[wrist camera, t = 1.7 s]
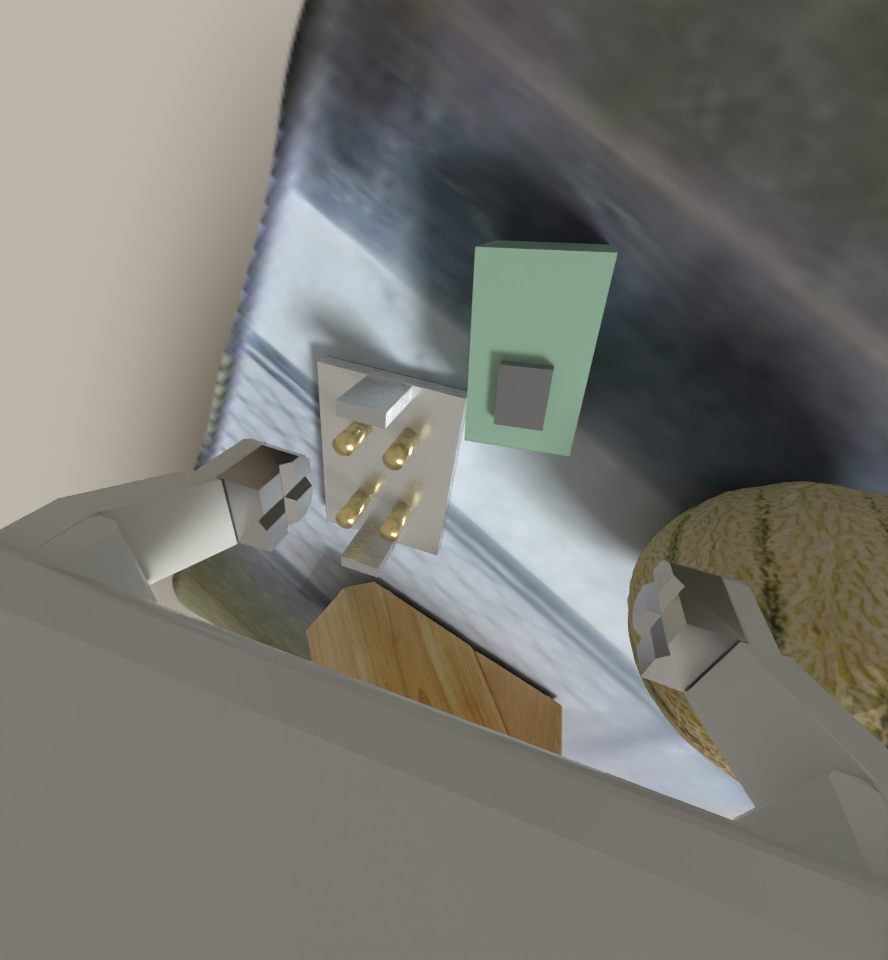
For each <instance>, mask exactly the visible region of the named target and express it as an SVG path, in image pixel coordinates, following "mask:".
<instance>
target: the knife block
mask: <svg viewBox="0 0 888 960" xmlns="http://www.w3.org/2000/svg"><path fill="white" fill-rule="evenodd" d="M306 633H307V637H308V642H309V647H310V652H311V658H312V662H313V663H316V664H319V665H321V666H324V667H327V668H329V669H332V670H335V671H337V672H340V673H343V674H345V675H348V676H351V677H353V678H356V679H359V680H361V681H364V682H367V683H369V684H372V685H375V686H377V687H380V688H383V689H385V690H388V691H391V692H393V693H396V694H399V695H401V696H404V697H407V698H409V699H412V700H415V701H417V702H420V703H422V704H425V705H428V706H430V707H433V708H436V709H438V710H441V711H444V712H446V713H449V714H452V715H454V716H457V717H460V718H462V719H465V720H468V721H470V722H473V723H476V724H478V725H481V726H483V727H486V728H489V729H491V730H494V731H497V732H499V733H502V734H505V735H507V736H510V737H513V738H515V739H518V740H521V741H523V742H526V743H529V744H531V745H534V746H536V747H539V748H542V749H544V750H547V751H550V752H552V753H555V754H558V755H560V756H562V706H561V705H560V704H558V703H557V702H555V701H554V700H552V698H551V697H549V696H547V695H544V694H543V693H541V692H540V691H538V690H537V689H535V688H534V687H532V686H531V685H529V684H528V683H526V682H524V681H523V680H521V679H520V678H518V677H517V676H515V675H514V674H512V673H510V672H509V671H507V670H506V669H504V668H503V667H501V666H499V665H498V664H496V663H495V662H493V661H491V660H490V659H488V658H487V657H485V656H483V655H482V654H480V653H478V652H476V651H474V650H473V649H472V647H471V646H469V645H468V644H467V643H465V642H464V641H462V640H461V639H459V638H458V637H457V636H455V635H454V634H452V633H451V632H449V631H448V630H446V629H445V628H443V627H441V626H440V625H438V624H437V623H435V622H434V621H432V620H431V619H429V618H428V617H426V616H425V615H423V614H422V613H420V612H419V611H417V610H416V609H414V608H413V607H411V606H410V605H408V604H407V603H406V602H404V601H403V600H401V599H400V598H398V597H397V596H395V595H394V594H393V593H392V592H391V591H389V590H387V589H385V588H383V587H381V586H380V585H378V584H377V583H375V582H370V583H364V584H359V585H354V586H349V587H344V588H343V589H341V591H340V592H339V593H338V595H337V596H336V597H335V599H334V600H333V601H332V602H331V603H330V604H329V605H328V606H327V608H326V609H325V610H324V611H323V612H322V613H321V614H320V615H319V616H318V618H317V619H316V620H315V621H314V622H313V623H312V625H311V626H310V627H309V628H308V629H307V631H306Z"/></svg>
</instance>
